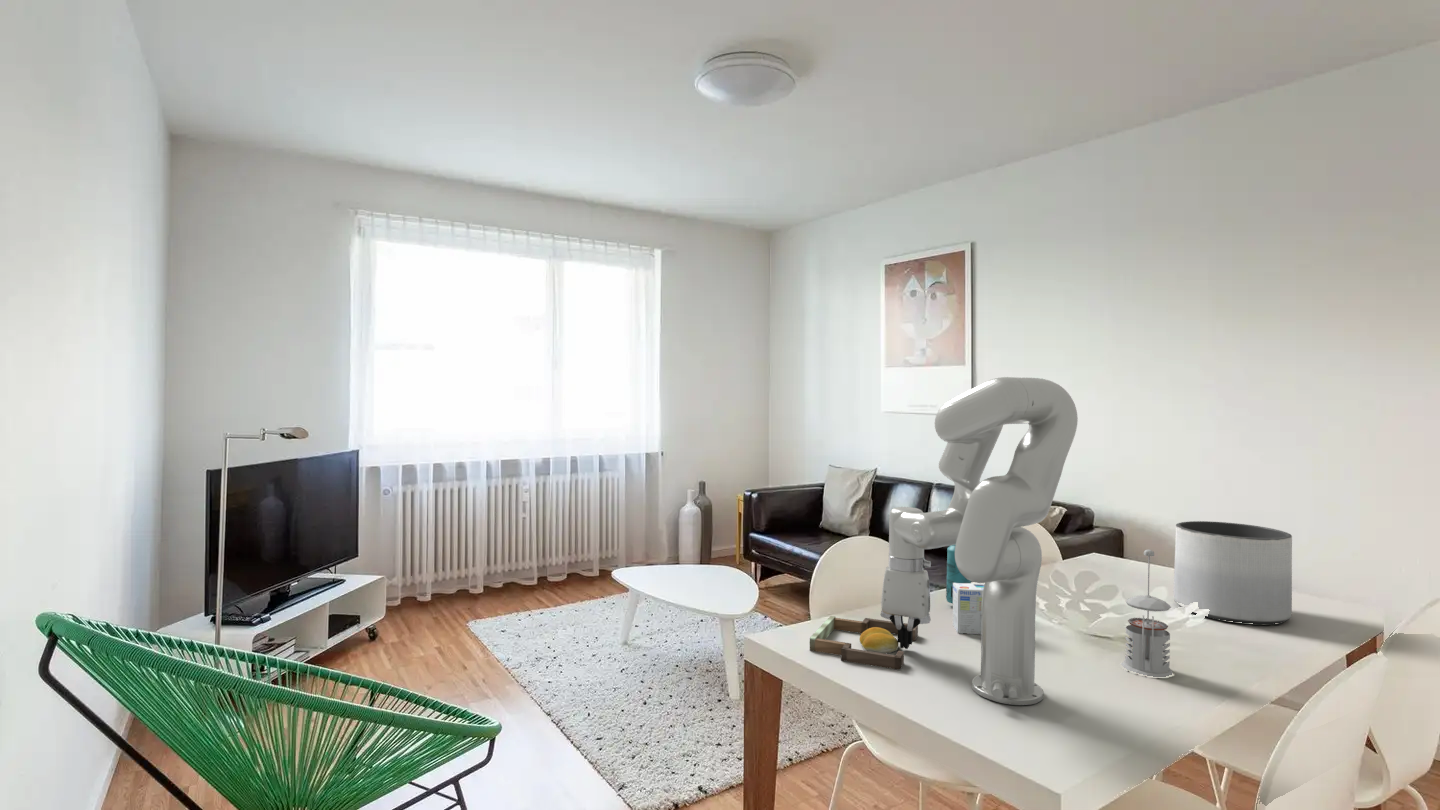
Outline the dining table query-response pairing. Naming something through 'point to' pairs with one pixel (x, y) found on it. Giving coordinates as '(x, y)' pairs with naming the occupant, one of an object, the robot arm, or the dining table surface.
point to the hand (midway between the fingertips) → (904, 646)
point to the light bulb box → (967, 607)
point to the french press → (1147, 636)
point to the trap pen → (844, 648)
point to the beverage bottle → (953, 573)
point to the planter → (1234, 571)
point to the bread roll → (878, 640)
